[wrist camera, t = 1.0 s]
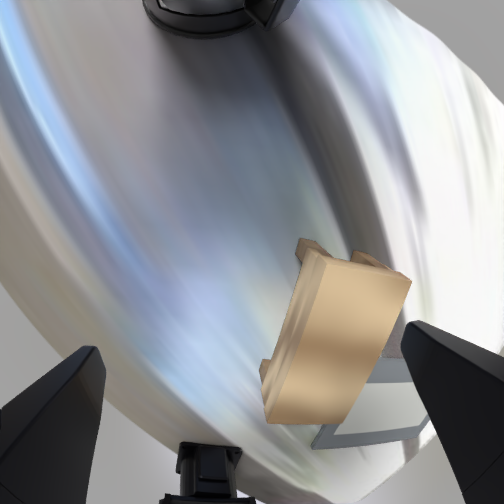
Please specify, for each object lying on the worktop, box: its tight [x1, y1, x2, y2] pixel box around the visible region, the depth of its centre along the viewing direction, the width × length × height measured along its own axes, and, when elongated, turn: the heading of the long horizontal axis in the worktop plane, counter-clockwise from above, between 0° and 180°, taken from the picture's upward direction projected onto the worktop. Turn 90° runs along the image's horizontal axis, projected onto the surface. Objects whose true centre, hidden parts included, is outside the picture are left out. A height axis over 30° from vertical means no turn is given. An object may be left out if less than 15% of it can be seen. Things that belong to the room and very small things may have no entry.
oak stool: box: [259, 238, 412, 424], centre depth 21 cm, size 12×6×6 cm, turn 166°
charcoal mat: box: [311, 358, 430, 450], centre depth 29 cm, size 13×16×1 cm
